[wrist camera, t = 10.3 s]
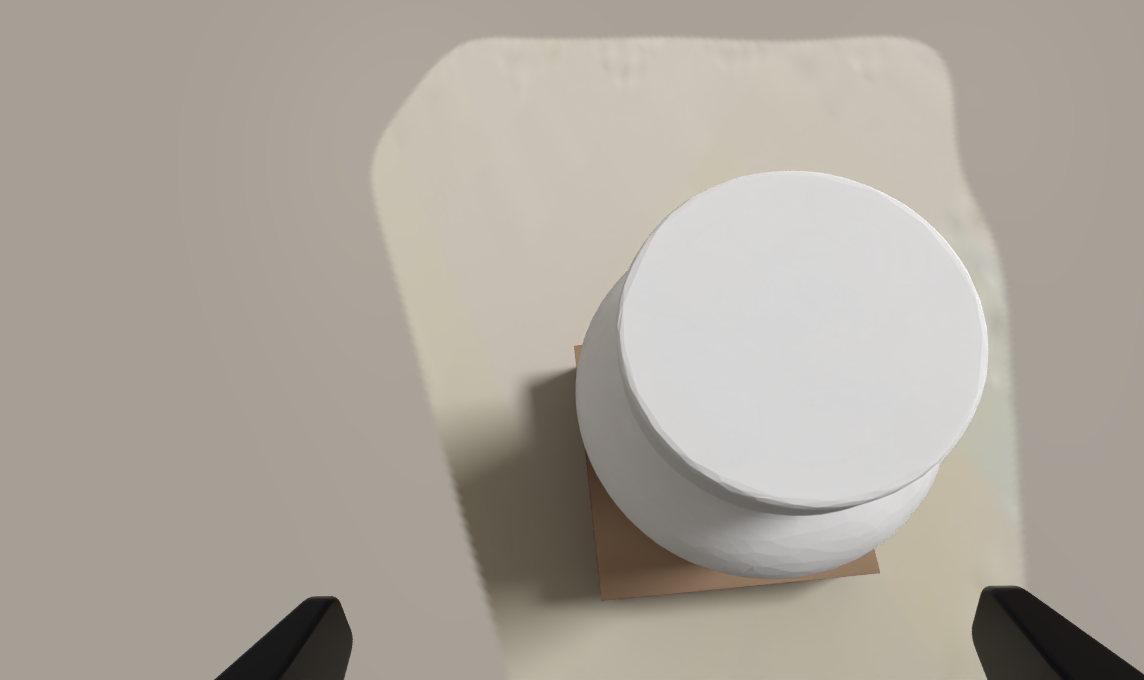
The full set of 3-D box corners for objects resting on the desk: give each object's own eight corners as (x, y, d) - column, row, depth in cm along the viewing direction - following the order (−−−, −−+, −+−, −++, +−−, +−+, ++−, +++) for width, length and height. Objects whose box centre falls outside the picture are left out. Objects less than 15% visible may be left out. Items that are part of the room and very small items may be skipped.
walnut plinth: (854, 570, 21) (879, 572, 18) (607, 594, 21) (601, 600, 19) (799, 336, 23) (815, 312, 21) (582, 365, 24) (573, 346, 22)
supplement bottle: (566, 455, 21) (440, 328, 9) (700, 319, 22) (758, 30, 9) (719, 611, 19) (839, 738, 6) (860, 454, 19) (1199, 307, 7)
